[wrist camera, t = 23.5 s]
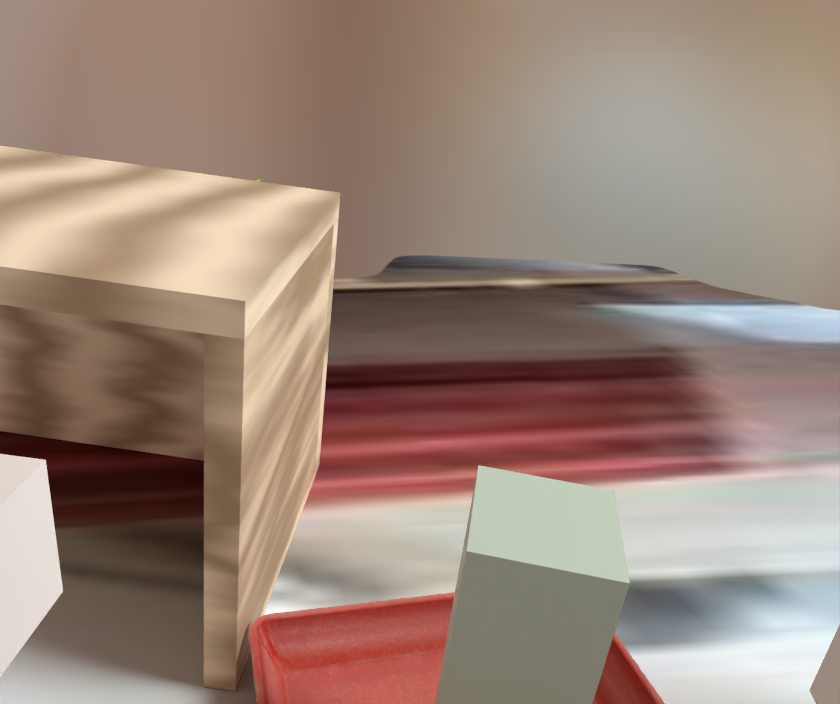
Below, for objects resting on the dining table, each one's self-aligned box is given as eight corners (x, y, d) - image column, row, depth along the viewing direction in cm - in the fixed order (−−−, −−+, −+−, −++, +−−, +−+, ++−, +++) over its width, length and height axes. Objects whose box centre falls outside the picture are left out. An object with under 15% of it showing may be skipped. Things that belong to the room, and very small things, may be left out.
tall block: (549, 720, 31) (613, 490, 27) (551, 835, 27) (629, 583, 22) (435, 695, 32) (478, 465, 27) (419, 805, 27) (466, 551, 22)
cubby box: (319, 465, 52) (340, 192, 44) (235, 691, 34) (245, 300, 26) (-18, 416, 52) (-57, 137, 44) (-275, 613, 34) (-418, 206, 26)
